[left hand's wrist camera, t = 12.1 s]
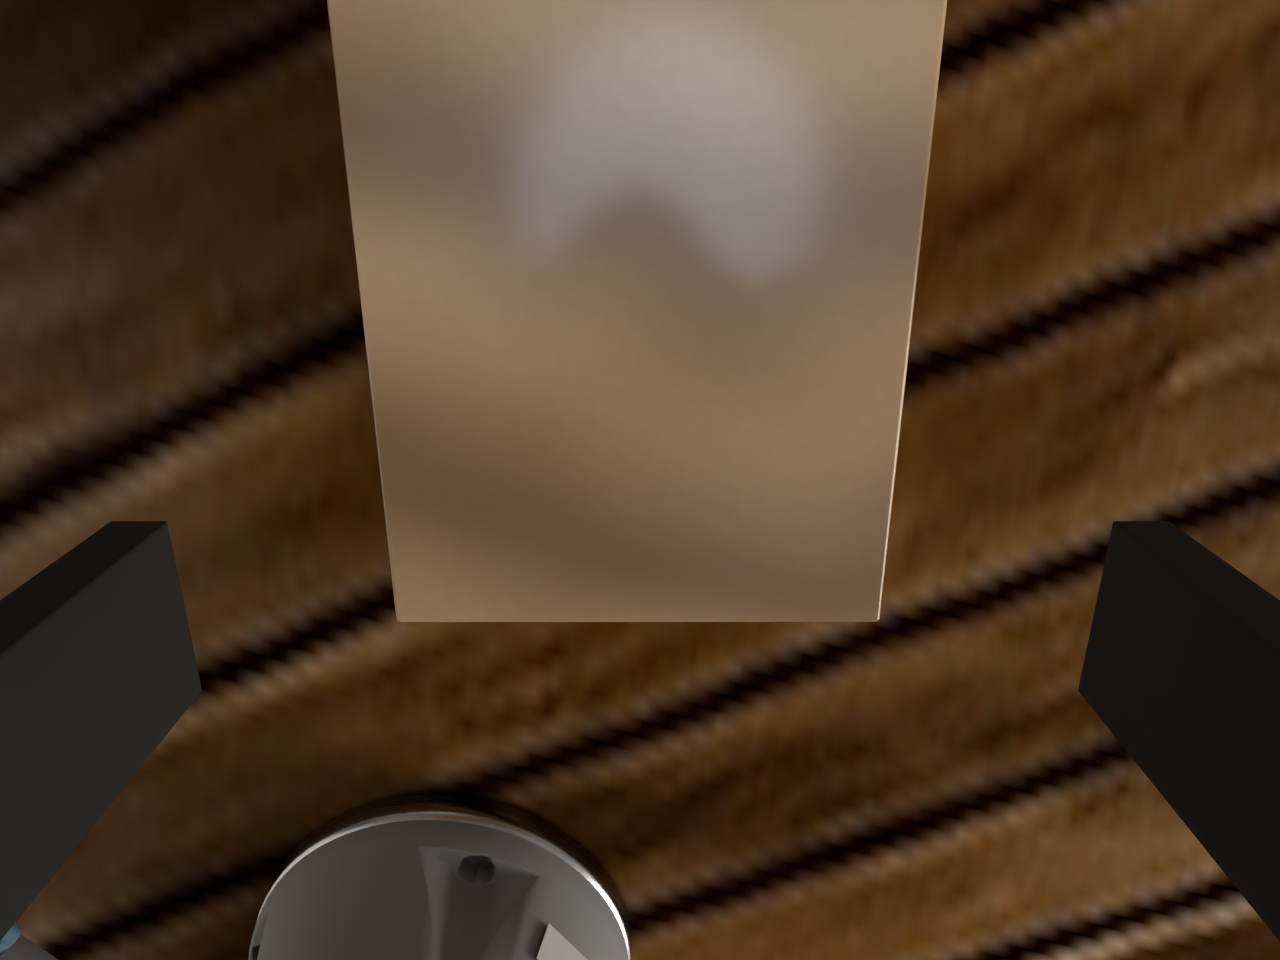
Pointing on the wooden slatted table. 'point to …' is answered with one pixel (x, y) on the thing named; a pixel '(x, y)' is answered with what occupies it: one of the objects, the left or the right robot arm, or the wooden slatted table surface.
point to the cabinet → (637, 298)
